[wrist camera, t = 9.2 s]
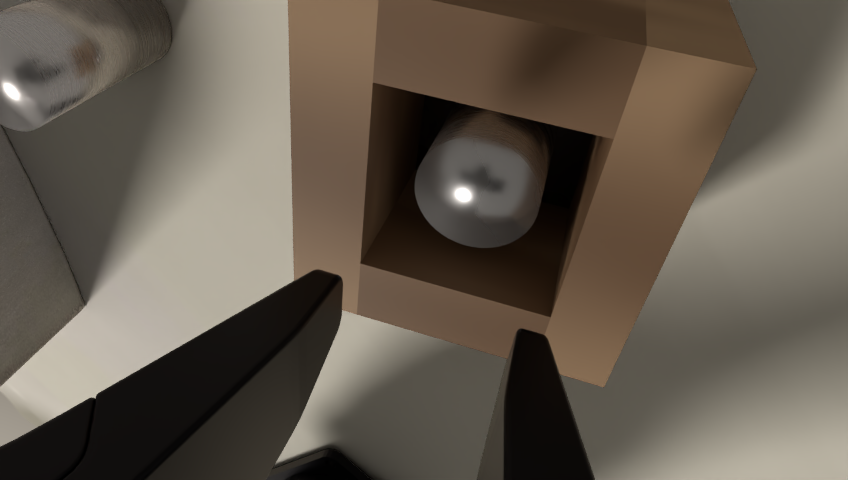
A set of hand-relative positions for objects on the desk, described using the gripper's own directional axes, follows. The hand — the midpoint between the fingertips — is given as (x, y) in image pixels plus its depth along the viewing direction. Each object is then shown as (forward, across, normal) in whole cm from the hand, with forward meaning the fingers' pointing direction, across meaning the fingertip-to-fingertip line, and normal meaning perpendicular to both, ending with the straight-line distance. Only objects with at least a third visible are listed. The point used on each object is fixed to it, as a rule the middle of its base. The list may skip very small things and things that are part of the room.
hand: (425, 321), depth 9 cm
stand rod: (+8, +11, 0) cm, 13 cm away
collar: (+7, 0, 0) cm, 7 cm away
